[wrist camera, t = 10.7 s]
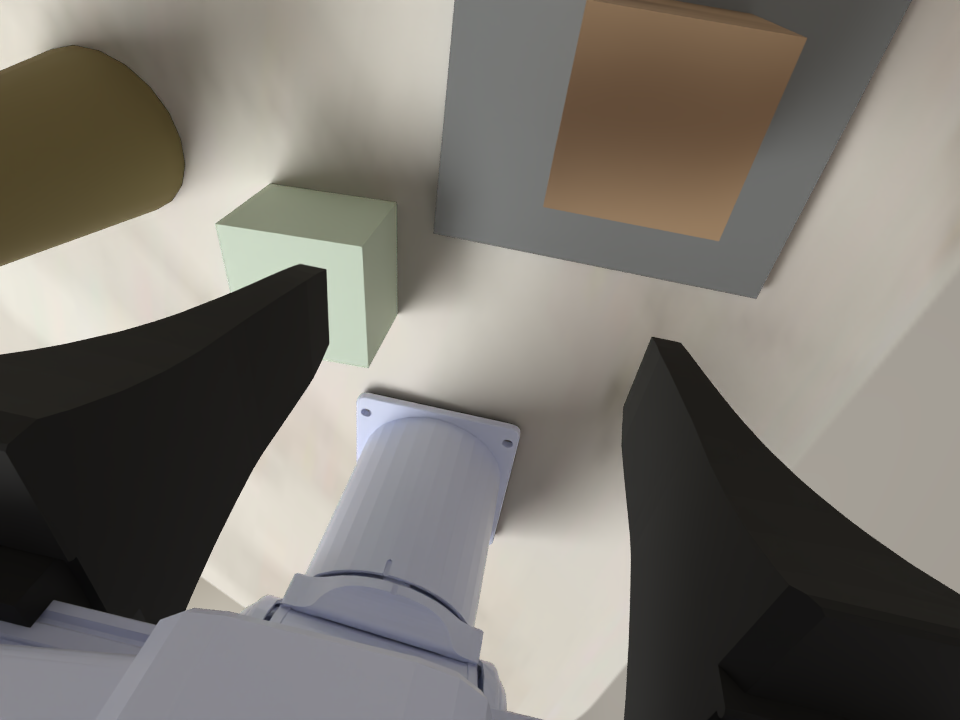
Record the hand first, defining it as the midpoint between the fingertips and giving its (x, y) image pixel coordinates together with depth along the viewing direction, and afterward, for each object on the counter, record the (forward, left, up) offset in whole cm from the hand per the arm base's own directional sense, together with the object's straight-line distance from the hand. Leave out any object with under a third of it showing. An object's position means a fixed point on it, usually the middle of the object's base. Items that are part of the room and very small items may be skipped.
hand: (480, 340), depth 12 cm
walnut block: (+4, -3, -9) cm, 10 cm away
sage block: (-4, +7, -10) cm, 13 cm away
